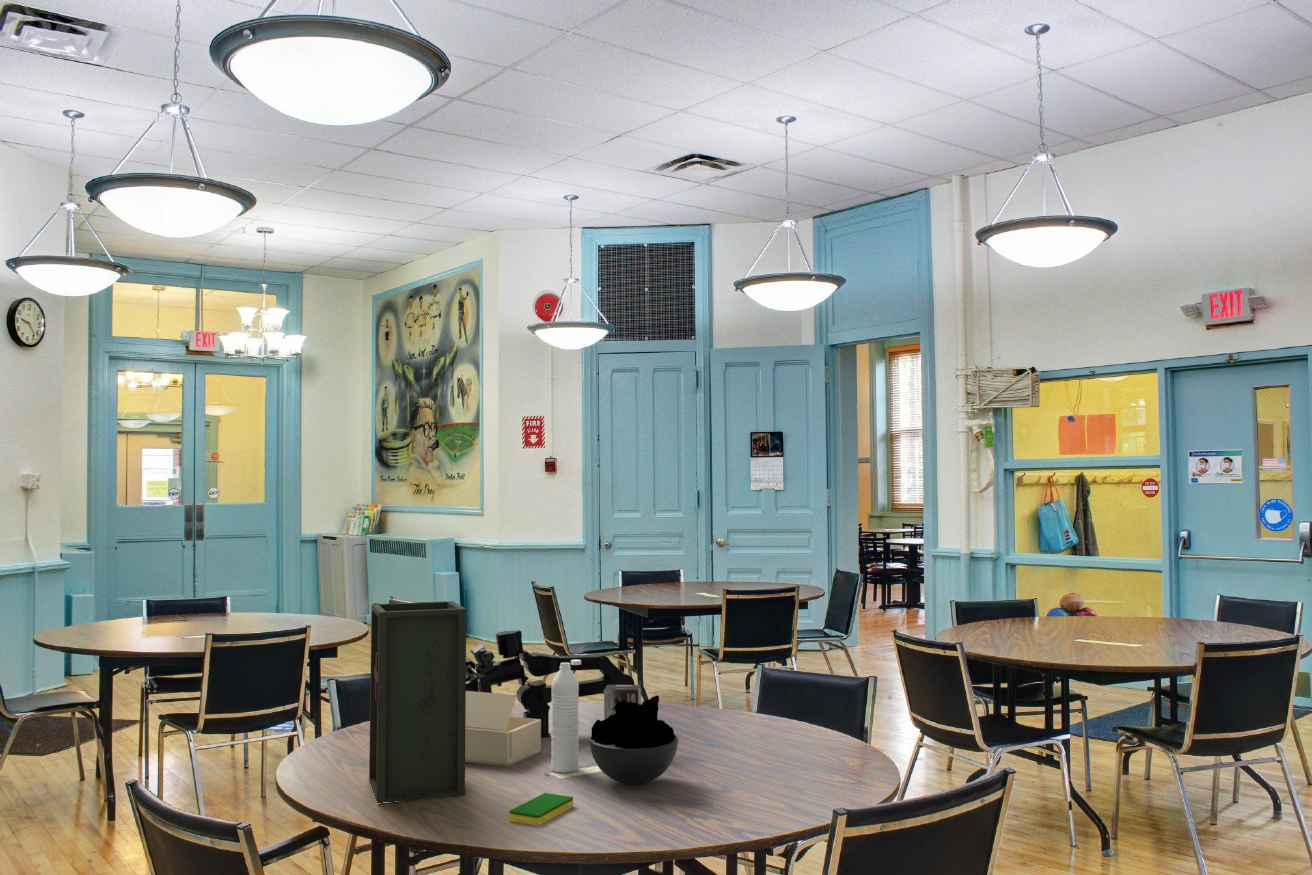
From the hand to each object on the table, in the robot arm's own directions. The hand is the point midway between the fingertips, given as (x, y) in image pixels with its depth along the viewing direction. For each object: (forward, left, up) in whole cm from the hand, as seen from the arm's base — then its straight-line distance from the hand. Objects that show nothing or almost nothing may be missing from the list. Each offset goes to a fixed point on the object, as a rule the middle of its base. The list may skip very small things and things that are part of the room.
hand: (444, 685), depth 266 cm
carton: (-9, +16, -15) cm, 23 cm away
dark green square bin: (+13, +38, -15) cm, 43 cm away
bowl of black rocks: (-33, +53, -15) cm, 65 cm away
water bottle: (-23, +35, -15) cm, 45 cm away
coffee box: (-41, +24, -15) cm, 50 cm away
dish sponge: (-8, +66, -16) cm, 69 cm away
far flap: (-5, +20, -3) cm, 20 cm away
